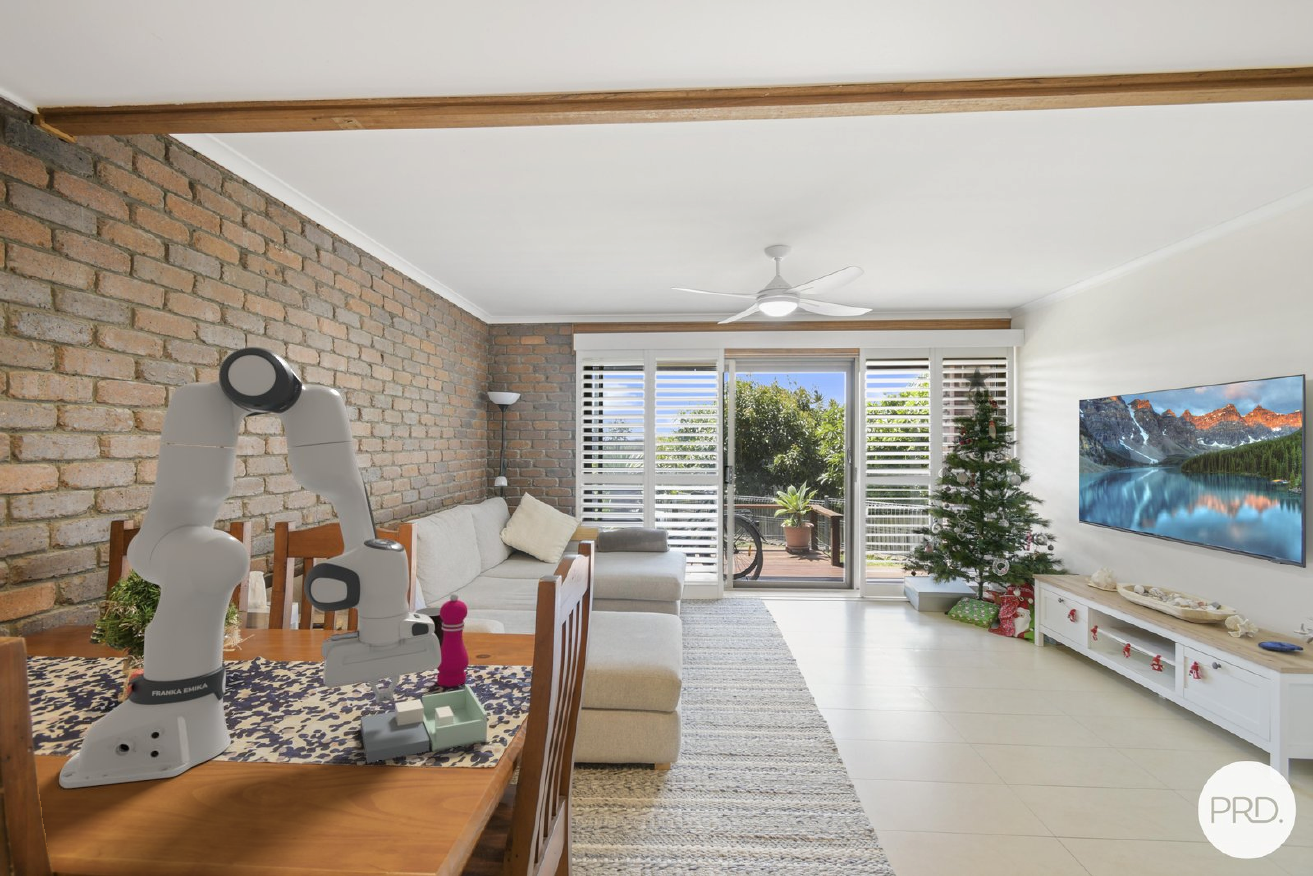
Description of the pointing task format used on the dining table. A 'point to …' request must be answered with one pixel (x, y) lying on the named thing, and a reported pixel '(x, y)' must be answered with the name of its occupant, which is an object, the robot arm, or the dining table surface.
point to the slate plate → (391, 737)
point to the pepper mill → (453, 644)
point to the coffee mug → (434, 620)
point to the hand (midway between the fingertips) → (384, 700)
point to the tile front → (443, 717)
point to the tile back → (409, 712)
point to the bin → (455, 719)
